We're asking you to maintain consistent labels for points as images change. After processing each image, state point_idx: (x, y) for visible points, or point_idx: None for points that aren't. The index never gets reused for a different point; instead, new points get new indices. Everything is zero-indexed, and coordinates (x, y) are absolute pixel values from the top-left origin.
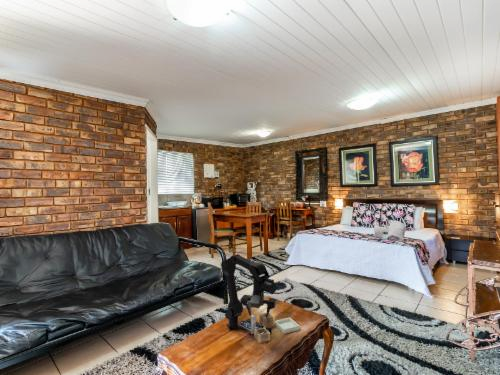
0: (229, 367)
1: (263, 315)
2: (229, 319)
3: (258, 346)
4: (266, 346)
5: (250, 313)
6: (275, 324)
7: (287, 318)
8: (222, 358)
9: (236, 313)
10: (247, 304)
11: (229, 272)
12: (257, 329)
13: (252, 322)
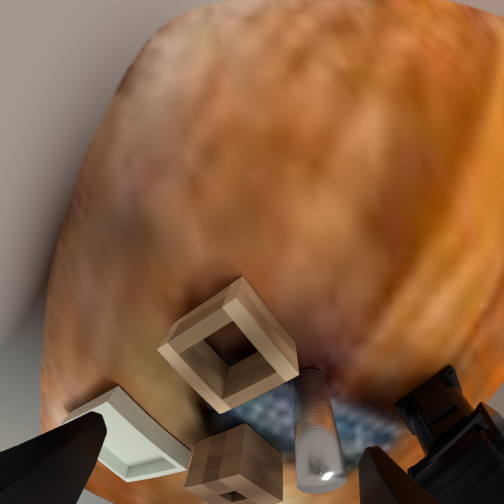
0: (374, 6)
1: (250, 496)
2: (485, 405)
3: (242, 237)
4: (184, 249)
5: (372, 478)
6: (183, 453)
7: (132, 478)
8: (442, 76)
9: (466, 452)
10: None
11: None
12: (272, 381)
13: (323, 428)
